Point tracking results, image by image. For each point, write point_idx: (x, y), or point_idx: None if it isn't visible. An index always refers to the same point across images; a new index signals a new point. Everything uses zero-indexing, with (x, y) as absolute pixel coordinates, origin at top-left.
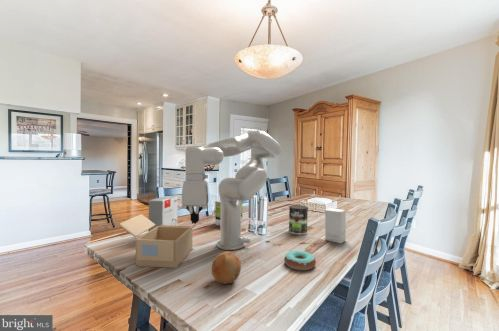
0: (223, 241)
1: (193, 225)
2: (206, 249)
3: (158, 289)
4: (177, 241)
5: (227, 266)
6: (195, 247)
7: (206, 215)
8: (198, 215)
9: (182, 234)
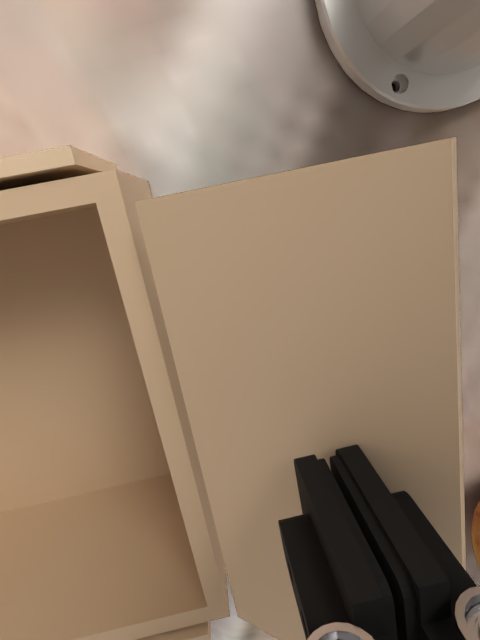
0: (423, 53)
1: (277, 436)
2: (260, 141)
3: (253, 630)
4: (226, 599)
5: None
6: (147, 123)
7: (456, 163)
8: (451, 576)
9: (168, 464)
